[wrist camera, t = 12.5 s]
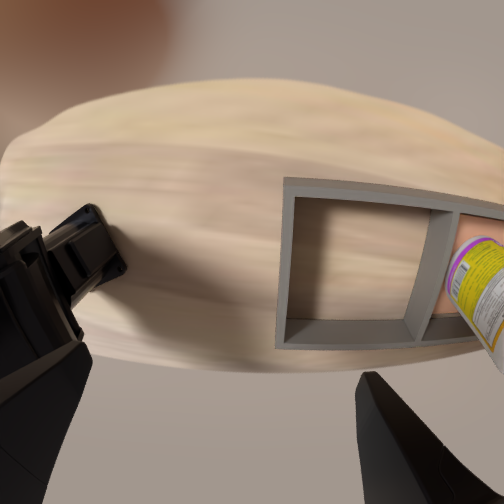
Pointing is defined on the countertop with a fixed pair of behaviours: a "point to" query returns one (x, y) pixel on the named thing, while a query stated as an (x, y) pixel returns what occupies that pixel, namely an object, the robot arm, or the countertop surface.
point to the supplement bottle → (480, 291)
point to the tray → (427, 281)
